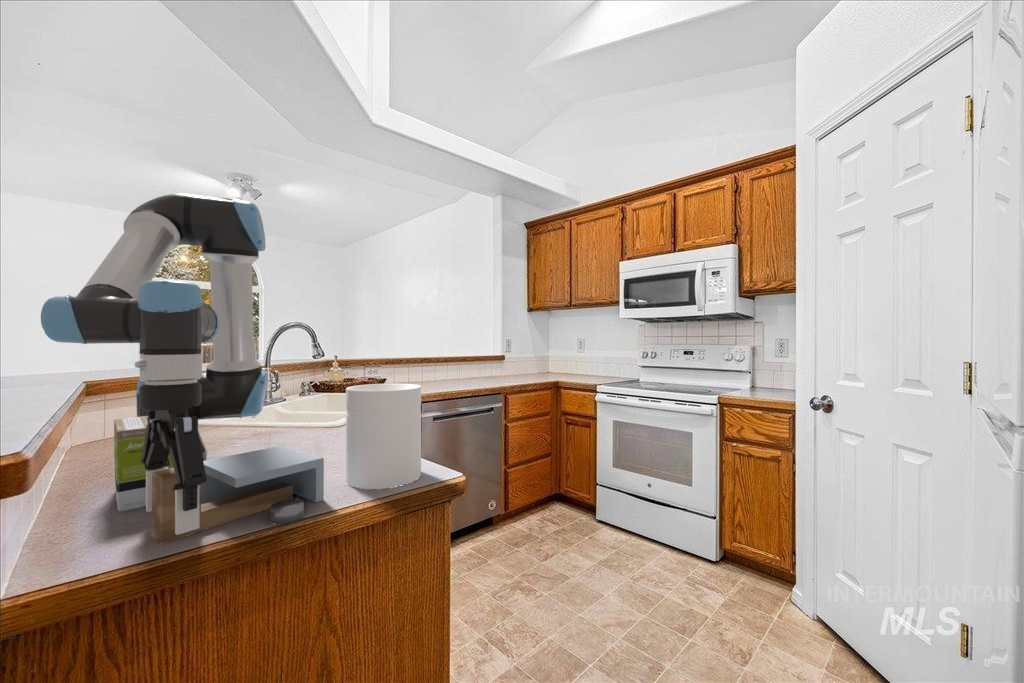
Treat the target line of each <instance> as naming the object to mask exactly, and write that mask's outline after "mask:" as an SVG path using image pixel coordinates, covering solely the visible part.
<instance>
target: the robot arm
mask: <svg viewBox="0 0 1024 683" xmlns="http://www.w3.org/2000/svg"><path fill="white" fill-rule="evenodd" d="M182 245H183V246H193V247H194V246H195V247H196V246H197V247H201V255H202V256H203V257H204V258H205V259H207V260H208V261H209V270H210V271H209V273H210V274H209V275H210V277H209V278H210V299H211V300H210V301H211V303H210V304H211V306H210V305H209V304H207V303H206V302H204V301H203V299H202V298H203V297H202V289H201V287H200V286H199V285H197V284H195V283H194V282H193V283H191V282H186V281H185V282H184V281H178V280H160V279H159V280H153V279H154V277H155V275H156V274H157V272H158V271H159V268H160V267H161V265H162V263H163V262H164V260H165V258H166V256H167V254H168V252H171V251H174V250H175V249H176V248H177V247H178V246H182ZM266 247H267V246H266V236H265V229H264V223H263V218H262V214H261V212H260V210H259V208H258V206H257V205H256V204H255V203H254V202H251V201H247V200H242V199H241V200H240V199H237V198H227V197H217V196H216V197H215V196H206V195H199V194H198V195H197V194H190V193H181V192H179V193H171V194H164V195H161V196H158V197H155V198H153V199H150V200H148V201H146V202H144V203H141V205H140V204H139V205H138V206H137V207H135V208H134V209H133V210H132V211H131V212H130V213H129V214H128V215H127V217H126V218H125V220H124V222H123V233H122V234H121V236H120V238H118V240H117V241H116V243H114V246H112V248H111V249H110V251H109V252H108V254H107V255H106V256H105V258H104V259H103V260H102V262H101V263H100V264H99V266H98V268H97V269H96V270H95V271H94V273H93V274H92V275H91V276H90V278H89V280H88V281H87V282H86V284H85V285H84V286H83V288H82V289H81V290H80V291H79V293H78V294H77V295H76V296H71V295H70V294H69V295H65V296H53V297H49V298H48V299H47V300H46V301H45V302H44V304H43V305H42V307H41V308H42V309H41V311H40V324H41V328H42V329H43V332H44V334H45V335H46V336H47V338H49V339H50V340H51V341H53V342H57V343H66V344H67V343H69V344H81V345H87V344H89V345H90V344H95V345H96V344H139V359H140V360H138V361H135V362H134V367H135V368H139V377H138V379H137V383H136V384H137V385H136V393H135V396H136V417H142V416H148V418H147V428H146V434H145V440H144V446H143V453H142V459H141V462H142V464H145V465H144V467H145V469H146V470H148V469H149V471H146V507H145V512H146V513H150V512H151V513H152V472H155V471H160V470H165V469H168V468H167V467H165V468H162V467H164V466H169V465H171V464H170V460H169V459H168V456H169V453H170V455H171V459H172V463H173V467H174V471H175V475H176V479H177V483H178V484H174V486H173V488H172V490H173V491H175V534H176V535H179V534H182V533H185V532H189V531H192V530H195V529H199V485H200V484H201V483H205V482H206V479H207V478H206V474H205V468H204V462H203V461H205V460H208V457H207V456H208V451H207V448H206V445H205V444H204V441H203V438H202V436H201V433H200V431H199V420H214V419H218V420H219V419H232V418H233V419H234V418H239V419H242V418H245V417H246V418H247V417H257V415H260V414H261V412H262V410H263V408H264V405H265V399H266V397H267V390H268V382H269V373H268V371H266V370H262V363H261V362H260V361H258V360H257V359H256V358H255V352H254V351H255V349H254V348H255V347H254V341H255V340H254V339H255V338H254V305H253V301H254V300H253V298H254V297H253V273H252V272H253V271H252V270H253V264H254V263H255V262H256V261H257V260H258V259H260V258H259V252H264V251H265V250H266ZM210 340H212V350H213V352H212V353H213V356H212V357H213V359H212V360H211V362H210V363H209V364H207V365H206V372H203V353H202V343H206V342H208V341H210ZM190 476H193V477H190Z"/></svg>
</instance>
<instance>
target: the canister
mask: <svg viewBox="0 0 1024 683" xmlns="http://www.w3.org/2000/svg"><path fill="white" fill-rule="evenodd" d="M345 408H346V410H345V411H346V412H345V413H346V414H345V483H346V484H347V486H349V487H352V488H354V487H356V488H355V489H359V488H361V489H360V490H371V489H377V490H383V489H382V488H389V489H392V488H391V487H395V486H400V485H404V484H407V483H410V482H412V481H414V480H416V479H417V478H419V477H420V476H421V477H422V385H420V384H415V383H396V382H395V383H369V384H360V385H352V386H347V387H346V388H345ZM421 477H420V478H421ZM420 478H419V479H420ZM407 485H408V484H407ZM404 486H405V485H404ZM395 488H396V487H395Z"/></svg>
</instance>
